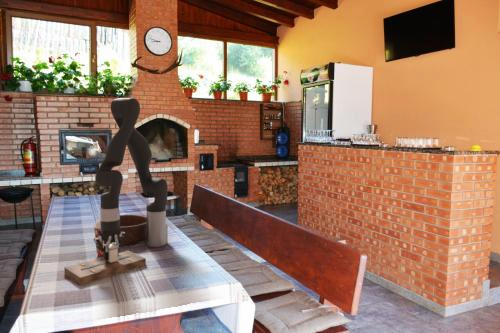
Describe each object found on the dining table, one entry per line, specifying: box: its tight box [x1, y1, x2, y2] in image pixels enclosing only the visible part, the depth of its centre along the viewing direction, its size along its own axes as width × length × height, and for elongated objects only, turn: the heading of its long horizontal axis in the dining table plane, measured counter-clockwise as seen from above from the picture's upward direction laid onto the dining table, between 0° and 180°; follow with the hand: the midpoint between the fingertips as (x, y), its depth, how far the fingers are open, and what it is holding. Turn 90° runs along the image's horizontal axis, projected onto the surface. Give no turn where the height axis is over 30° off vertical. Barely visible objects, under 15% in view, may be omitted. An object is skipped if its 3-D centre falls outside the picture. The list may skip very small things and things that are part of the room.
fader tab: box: [108, 244, 119, 263], centre depth 160 cm, size 3×5×6 cm, turn 48°
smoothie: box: [93, 218, 113, 258], centre depth 176 cm, size 8×8×20 cm
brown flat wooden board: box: [64, 250, 147, 286], centre depth 159 cm, size 28×14×3 cm, turn 138°
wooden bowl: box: [118, 214, 147, 247], centre depth 198 cm, size 25×25×10 cm
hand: (111, 258), depth 161 cm, fingers closed on fader tab, 3 cm apart
